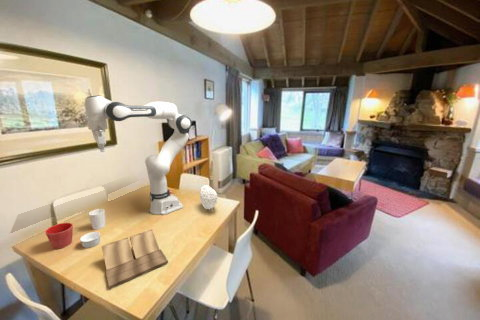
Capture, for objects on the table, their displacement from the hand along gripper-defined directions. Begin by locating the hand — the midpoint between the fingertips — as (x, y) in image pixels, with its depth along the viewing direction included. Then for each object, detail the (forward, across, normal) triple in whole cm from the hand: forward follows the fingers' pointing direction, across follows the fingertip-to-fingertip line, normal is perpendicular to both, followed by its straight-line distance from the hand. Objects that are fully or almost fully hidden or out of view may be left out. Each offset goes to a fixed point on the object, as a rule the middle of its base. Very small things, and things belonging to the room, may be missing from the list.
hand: (101, 150), depth 118 cm
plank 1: (+44, -38, +3) cm, 58 cm away
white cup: (+47, +1, +7) cm, 48 cm away
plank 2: (+44, -38, -9) cm, 58 cm away
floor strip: (+47, -49, -3) cm, 68 cm away
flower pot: (+47, -7, +24) cm, 53 cm away
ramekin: (+47, -15, +12) cm, 51 cm away
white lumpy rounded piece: (+47, -19, -58) cm, 77 cm away
